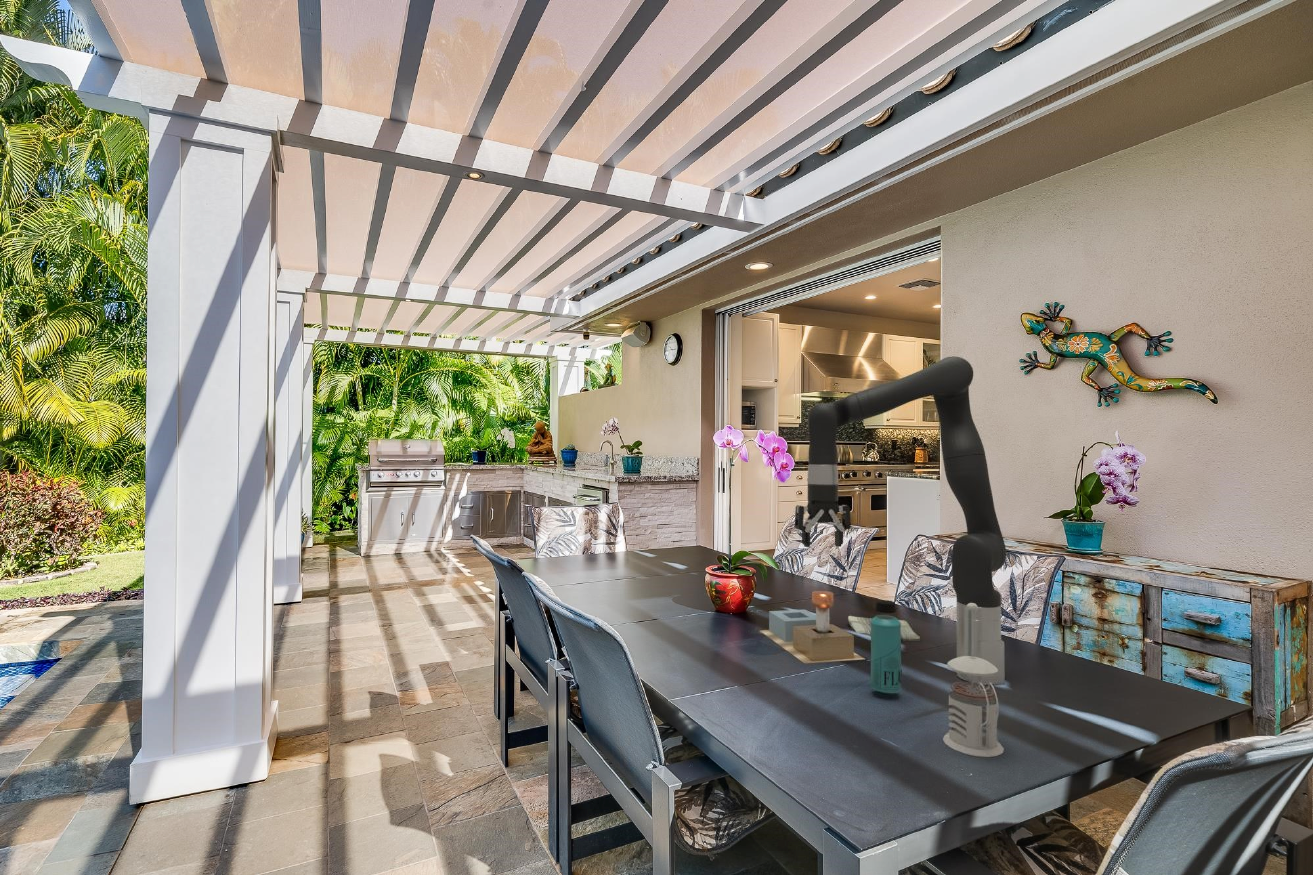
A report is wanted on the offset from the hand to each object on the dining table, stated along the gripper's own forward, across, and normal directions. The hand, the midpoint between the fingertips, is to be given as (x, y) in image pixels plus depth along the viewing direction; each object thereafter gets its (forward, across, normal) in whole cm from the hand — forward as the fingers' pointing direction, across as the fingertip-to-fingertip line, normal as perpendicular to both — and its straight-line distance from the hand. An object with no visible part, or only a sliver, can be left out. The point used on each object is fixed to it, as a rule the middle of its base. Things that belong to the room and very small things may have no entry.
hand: (822, 546), depth 163 cm
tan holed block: (+27, 0, 0) cm, 27 cm away
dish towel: (+29, +29, +20) cm, 45 cm away
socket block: (+27, 0, +16) cm, 31 cm away
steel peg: (+27, 0, 0) cm, 27 cm away
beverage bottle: (+28, +2, -25) cm, 38 cm away
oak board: (+28, 0, +8) cm, 29 cm away
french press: (+28, +4, -50) cm, 58 cm away
